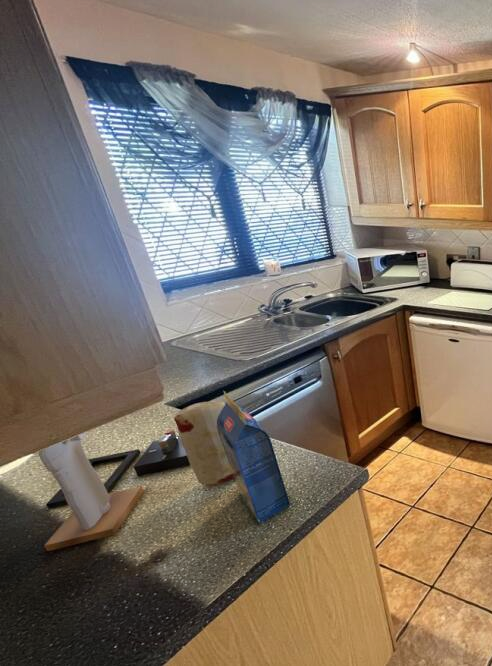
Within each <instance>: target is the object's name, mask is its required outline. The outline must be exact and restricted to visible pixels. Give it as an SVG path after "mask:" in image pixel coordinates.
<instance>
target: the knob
mask: <svg viewBox="0 0 492 666" xmlns="http://www.w3.org/2000/svg"><path fill="white" fill-rule="evenodd" d="M159 440H160V441H159V442H158V443H159V445H160V448H161V450H162V452H163V454H166V453H170V452H172V450H173V449H174V447H175V446H176V444H177V443H178V439H177V435H176V432H175V430H174V429H169V430H166V431H165V432H164V434H162V436H161V438H160V439H159Z"/></svg>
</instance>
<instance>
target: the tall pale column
mask: <svg viewBox="0 0 492 666" xmlns="http://www.w3.org/2000/svg"><path fill="white" fill-rule="evenodd" d="M38 457H39V458H40V461H41V462H42V464H43V466H44V467H45V469H46V471H48V472H50V473H51V475H52V477H54V479H55V481H56V483H58V486H59V488H60V489H62V491H63V493H64V495H65V498H66V501H67V503H68V504H67V505H68V507H69V508H70V510H71V513H72V512H73V514H74V516H75V517H76V519H77V521H78V522H79V524H80V526H81V528H82V529H83V530H88V529H90V528H92V527H93V526H94V525H95V524H96V523H97V522H98V520H99V519H100V518H101V516H102V515H103V514H105V513H106V512H107V511H108V510H109V509H110V507H111V506H110V504H109V501H110V496H109V494H108V492H107V490H106V488H105V487H104V482H103V481H102V479H101V478H100V475H99V474H98V471H96V469H95V468H94V467H92V465H91V463H90V462H89V460H88V459H89V458H88V456H87V454H86V452H85V450H84V448H83V446H82V440H78V441H73V442H71V441H70V439H69V440H66V441H64V442H61V443H58V444H56V445H53V446H51V447H48V448H46V449H43V450H41V451H39V450H38Z"/></svg>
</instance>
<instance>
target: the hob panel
mask: <svg viewBox="0 0 492 666" xmlns="http://www.w3.org/2000/svg"><path fill="white" fill-rule="evenodd" d="M176 437H177V439H178V443H177V444H176V446H175V447H174V449H173V450H172V452H170V453H166V454H163V452H162V450H161V448H160V445H159V443H158V442H159V441H160V439H156V440H152V441H151V443H150V444H149V445H148V447H147V448H146V450H145V451H144V452H143V453H142V455H141V456H140V457H139V459H138V460H137V461H136V462H135V464H134V465H133V470H134V472H135V474H136V476H137V477H138V478H140V477H144V476H148V475H154V474H158V473H162V472H165V471H172V470H175V469H180V468H186V467H189V466H190V467H191V465H190V463H189V460H188V457H187V454H186V452H185V450H184V448H183V445H182V443H181V440H180V436H179V435H176Z"/></svg>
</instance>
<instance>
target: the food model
mask: <svg viewBox="0 0 492 666" xmlns="http://www.w3.org/2000/svg"><path fill="white" fill-rule="evenodd" d="M225 404H226V402H224V401H218V400H217V401H211V402H209V401H202V402H197V403H193V404H191V405H188V406H186V407H184V408H182V409H181V410H180V411H178V412H177V414H175V416H174V417H173V419H174V422H175V425H176V428H177V431H178V432H177V433H178V436H180V440H181V443H182V445H183V448H184V450H185V452H186V454H187V457H188V460H189V463H190V468H191V469H192V471H193V473H194V474H195V477H196V481H197V483H199V484H200V485H208V486H209V485H216V484H223V483H225V482H229V481H232V480H235V478H234V475H233V472H232V469H231V467H230V464H229V461H228V458H227V455H226V453H225V450H224V447H223V444H222V441H221V439H220V436H219V433H218V429H217V419H218V416H219V414H220V412H221V411H222V409H223V407H224V406H225Z"/></svg>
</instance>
